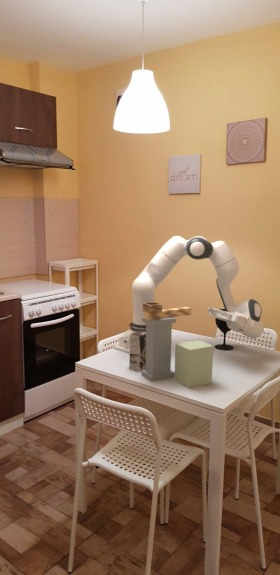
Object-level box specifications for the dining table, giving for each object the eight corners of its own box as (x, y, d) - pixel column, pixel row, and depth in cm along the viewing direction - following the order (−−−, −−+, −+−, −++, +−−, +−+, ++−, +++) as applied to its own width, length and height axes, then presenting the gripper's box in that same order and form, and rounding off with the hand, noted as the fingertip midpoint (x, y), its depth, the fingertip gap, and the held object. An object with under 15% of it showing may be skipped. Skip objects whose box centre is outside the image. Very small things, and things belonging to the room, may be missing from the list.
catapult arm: (185, 312, 199) (185, 298, 198) (193, 315, 194) (193, 301, 193) (142, 317, 189) (142, 302, 188) (149, 320, 183) (149, 305, 182)
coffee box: (141, 371, 199) (141, 336, 196) (128, 368, 202) (129, 334, 199) (150, 365, 207) (151, 331, 204) (138, 362, 210) (139, 329, 207)
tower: (164, 370, 200) (165, 314, 196) (174, 376, 193) (176, 318, 189) (141, 375, 194) (142, 317, 190) (150, 381, 187) (151, 321, 183)
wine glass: (219, 343, 243) (221, 307, 240) (237, 347, 237) (239, 310, 234) (210, 348, 235) (212, 310, 231) (229, 351, 229) (230, 313, 225)
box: (197, 375, 195) (198, 339, 193) (211, 382, 187) (213, 346, 184) (174, 379, 190) (175, 343, 187) (188, 387, 181) (189, 350, 178)
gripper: (224, 311, 219) (204, 301, 213) (253, 318, 201) (231, 308, 195) (219, 322, 219) (199, 313, 212) (248, 331, 201) (226, 321, 194)
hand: (214, 310), depth 203 cm, fingers open, 8 cm apart
